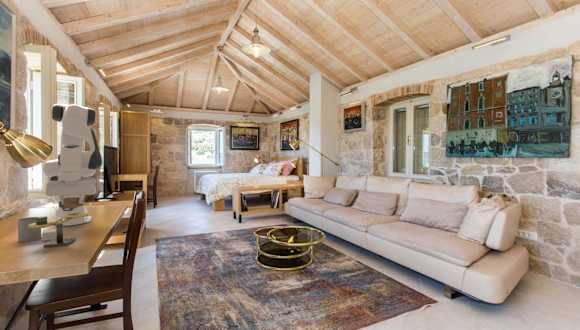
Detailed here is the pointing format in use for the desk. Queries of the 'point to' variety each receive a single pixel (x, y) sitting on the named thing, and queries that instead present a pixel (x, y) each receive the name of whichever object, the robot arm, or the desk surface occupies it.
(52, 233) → the grey stone block
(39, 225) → the balance
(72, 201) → the walnut block
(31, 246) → the desk surface
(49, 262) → the desk surface
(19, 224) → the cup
